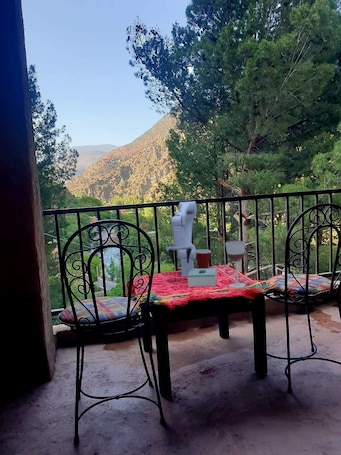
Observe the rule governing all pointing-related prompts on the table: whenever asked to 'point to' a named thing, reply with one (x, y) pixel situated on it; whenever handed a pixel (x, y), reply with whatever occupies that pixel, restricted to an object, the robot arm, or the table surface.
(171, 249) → the robot arm
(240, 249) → the wineglass
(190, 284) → the coin box
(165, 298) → the table surface
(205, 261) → the plastic cup
